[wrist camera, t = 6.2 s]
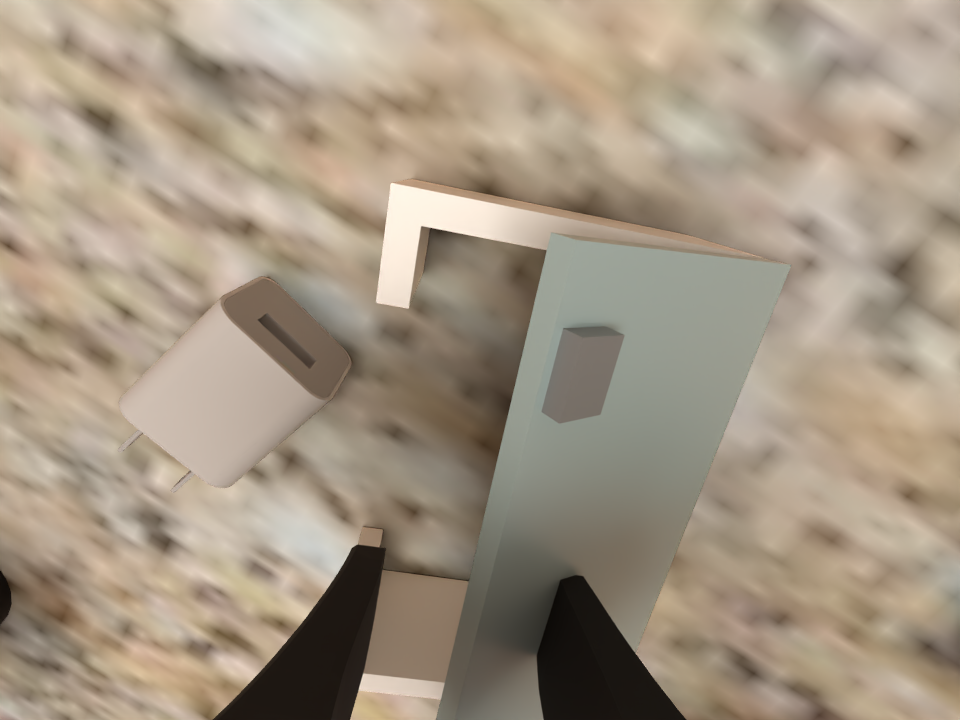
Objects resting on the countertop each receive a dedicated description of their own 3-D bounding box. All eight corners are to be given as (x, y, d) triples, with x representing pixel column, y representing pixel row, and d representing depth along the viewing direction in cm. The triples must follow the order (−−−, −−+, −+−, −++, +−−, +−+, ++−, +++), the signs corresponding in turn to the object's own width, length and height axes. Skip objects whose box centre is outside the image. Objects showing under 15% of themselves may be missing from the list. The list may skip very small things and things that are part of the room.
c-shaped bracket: (565, 609, 22) (590, 716, 18) (355, 581, 21) (326, 686, 17) (687, 234, 17) (764, 258, 12) (411, 178, 16) (391, 182, 12)
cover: (591, 722, 18) (611, 745, 17) (399, 875, 13) (417, 916, 12) (769, 259, 12) (809, 269, 12) (551, 232, 7) (598, 246, 7)
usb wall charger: (355, 358, 18) (326, 408, 14) (225, 472, 19) (168, 545, 16) (267, 272, 17) (210, 302, 13) (136, 399, 18) (51, 460, 14)
